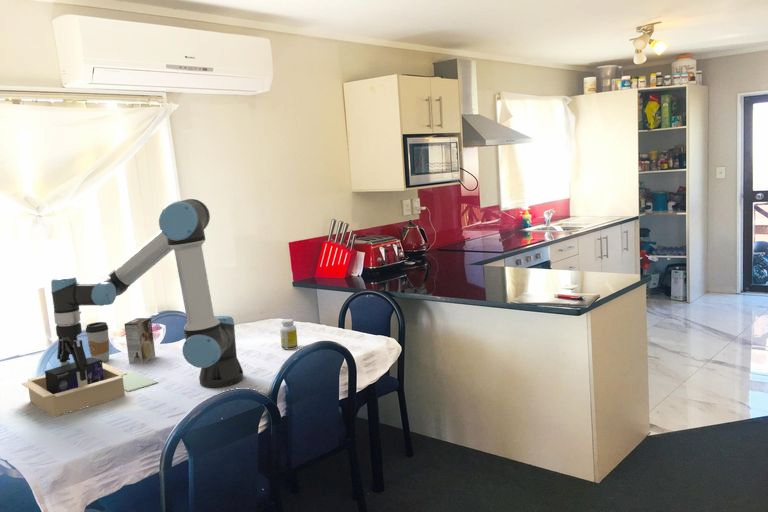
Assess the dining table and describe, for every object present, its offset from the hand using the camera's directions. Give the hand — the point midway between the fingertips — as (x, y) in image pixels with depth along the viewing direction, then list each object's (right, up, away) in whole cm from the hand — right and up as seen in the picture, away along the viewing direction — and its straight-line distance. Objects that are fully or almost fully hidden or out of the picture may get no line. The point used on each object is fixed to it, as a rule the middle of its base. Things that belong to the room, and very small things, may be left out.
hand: (75, 384), depth 216 cm
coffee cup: (-10, +1, +42) cm, 43 cm away
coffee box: (+7, +2, +41) cm, 41 cm away
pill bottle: (+65, +5, +47) cm, 81 cm away
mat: (+12, -2, +16) cm, 20 cm away
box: (+1, -5, +1) cm, 5 cm away
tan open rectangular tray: (0, -5, +1) cm, 5 cm away
